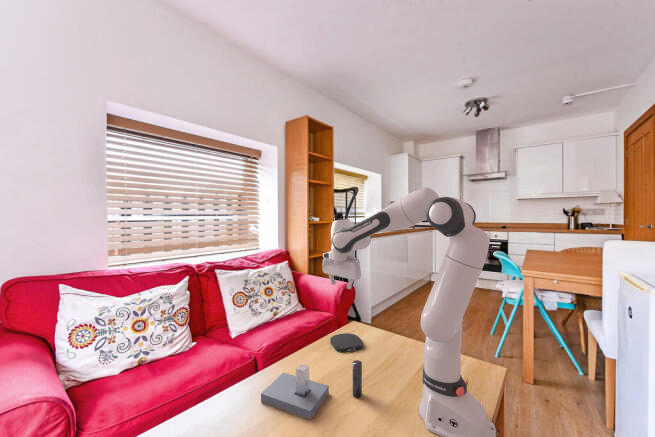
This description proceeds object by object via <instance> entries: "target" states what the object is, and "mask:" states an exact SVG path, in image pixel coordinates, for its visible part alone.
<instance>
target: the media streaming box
mask: <svg viewBox="0 0 655 437" xmlns="http://www.w3.org/2000/svg"><path fill="white" fill-rule="evenodd" d="M329 340H330V341H329V342H330V345H331V346H332V347H333V349H334V351H336V352H337V353H341V354H342V353H344V354H345V353H351V352H356V351H361V350H363V349H364V342H363V340H362V339H361V338H360V337H359V336H358V335H357V334H355V333H349V332H347V333H346V332H345V333H338V334H335V335H332V336H331V337H330V338H329Z"/></svg>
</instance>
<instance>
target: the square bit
mask: <svg viewBox="0 0 655 437" xmlns="http://www.w3.org/2000/svg"><path fill="white" fill-rule="evenodd" d="M295 376H296V395H298V396H301V397H304V398H306V396H307V395H308V394H309V380H310V365H308V364H307V365H306V364H304V363H300V364H299V365H298V366H297V367H296V369H295Z"/></svg>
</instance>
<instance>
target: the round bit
mask: <svg viewBox="0 0 655 437" xmlns="http://www.w3.org/2000/svg"><path fill="white" fill-rule="evenodd" d="M362 396H363V362H362V361H361V360H359V359H356V360H353V361H352V397H353V398H355V399H360V398H362Z"/></svg>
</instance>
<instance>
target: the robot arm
mask: <svg viewBox="0 0 655 437" xmlns="http://www.w3.org/2000/svg"><path fill="white" fill-rule="evenodd" d="M426 220H427V222H428V224H429V225H430V226H431V227H433V228H434V229H435V230H436V231H438V232H439V233H441V234H442V235H443V236H444V237H446V238H449V244H448V248H447V250H446V252H445V255H444V257H443V260H442V263H441V266H440V268H439V271H438V273H437V275H436V276H437V277H436V279H435V281H434V283H433V285H432V287H431V289H430V292H429V294H428V297H427V299H426V302H425V305H424V307H423V309H422V311H421V314H420V315H421V317H420V327H421V330H422V333H423V334H424V335H425V341H424V350H423V351H424V352H423V353H424V354H423V355H424V357H423V359H424V361H423V362H424V363H423V365H424V367H423V369H422V384H423V388H422V393H421V400H420V403H419V405H418V413H419V416H420V417H421V418H422V420H423V421H424V425H425V428H426V430H427V431H429V432H430V433H434V434H436V435H438V436H440V437H497V429H496V426H495V424H494V423H493V422H492V421H491V420H490V419H488V415H487V412H486V409H485V407H484V405H483V404H481V403H480V401H479V400H478V399H476V397H475V396H473V394H472V393H471V392H470V391H469V390H468V386H469V379H466V380H464V379H463V377H462V374H461V371H462V370H461V368H462V367H461V364H462V363H461V362H462V361H461V360H462V359H461V358H462V356H461V354H462V339H463V338H462V337H463V319H464V316H465V313H466V311H467V309H468V306H469V303H470V300H471V298H472V296H473V293H474V291H475V288H476V285H477V283H478V280H479V278H480V276H481V273H482V272H483V271H482V270H483V268H484V265H485V264H486V261H487V257H488V252H489V249H490V248H489V247H490V243H491V241H490V240H491V239H490V236H489V234H488V233H487V232H486V231H484V230H483V229H481V228H479V227H476V226H475V222H476V220H477V214H476V211H475V209H474V207H473V206H472V205H471V204H469V203H468V202H465V201H463V200H462V199H460V198H455V197H450V196H441V197H440V196H439V194H438V193H437V192H436V191H435V190H434V188H433V189H432V188H430V187H423V188H420V189H417V190H415V191H412V192H409V193H408V194H405V195H404V196H402V197H401V198H399V199H397V200H396V201H394V202H392V203H390V204H388V206H386V207H384V208H383V209H381V210H380V211H378V212H376V213H375V214H373V215H371V216H369V217H367V218H365V219H363V220H362V221H359V222H357V223H353V222H352V221H351V220H350V219H349V218H340V219H336V220H334V221H333V222H332V225H331V229H330V241H331V246H330V251H328V252H323V253H322V258H323V259H322V266H321V267H322V272H323V273H324V274H325V275H328V278H329V281H330V285H333V286H334V285H336V284H337V283H336V282H337V281H336V279H335V277H339V278H344V279H347V281H348V283H347V284H346V289H348V290H351V289H352V285H353V283H354V281H357V280H360V279H361V278H362V270H361V265H360V264H361V261H360V260H359V259H358V258H357V257H352V252H355V251H360V250H364V249H366V248H368V247H369V246H370V244H371V240H372V238H371V236H372V235H375V234H380V233H383V232H392V231H401V230H405V229H408V228H411V227H413V226H416V225H418V224H420V223H421V222H422V223H423V221H426Z"/></svg>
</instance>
